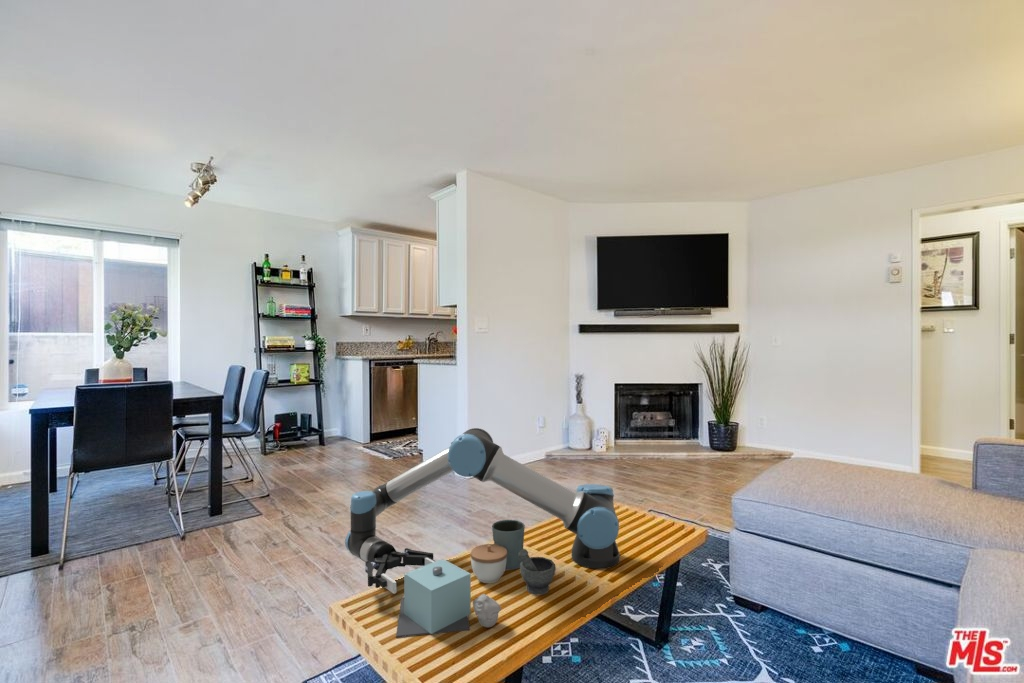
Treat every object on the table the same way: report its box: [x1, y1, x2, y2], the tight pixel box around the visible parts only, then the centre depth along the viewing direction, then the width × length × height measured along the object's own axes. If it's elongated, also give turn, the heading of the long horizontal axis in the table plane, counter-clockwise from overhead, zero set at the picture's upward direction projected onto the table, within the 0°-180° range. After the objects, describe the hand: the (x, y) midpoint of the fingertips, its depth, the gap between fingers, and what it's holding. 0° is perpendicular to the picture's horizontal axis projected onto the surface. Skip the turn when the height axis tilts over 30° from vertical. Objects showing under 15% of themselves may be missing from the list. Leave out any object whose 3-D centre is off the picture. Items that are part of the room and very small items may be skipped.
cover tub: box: [403, 558, 472, 635], centre depth 116 cm, size 12×12×11 cm
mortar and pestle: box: [518, 548, 556, 596], centre depth 129 cm, size 11×9×12 cm
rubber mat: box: [395, 597, 470, 638], centre depth 117 cm, size 17×17×1 cm
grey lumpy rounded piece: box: [472, 593, 502, 628], centre depth 112 cm, size 6×7×7 cm
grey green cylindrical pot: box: [491, 519, 526, 571], centre depth 144 cm, size 10×10×12 cm
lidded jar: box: [470, 543, 507, 584], centre depth 135 cm, size 11×11×9 cm
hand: (418, 578), depth 122 cm, fingers open, 13 cm apart
